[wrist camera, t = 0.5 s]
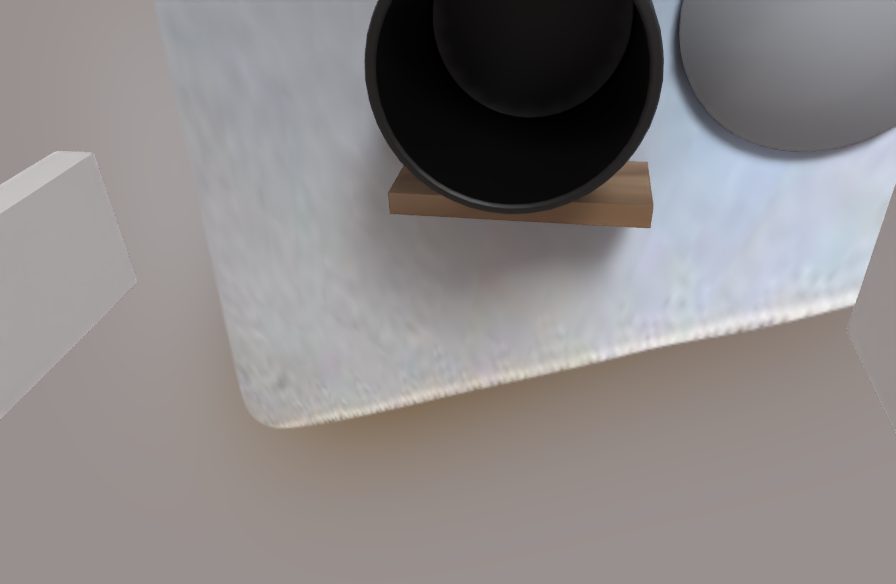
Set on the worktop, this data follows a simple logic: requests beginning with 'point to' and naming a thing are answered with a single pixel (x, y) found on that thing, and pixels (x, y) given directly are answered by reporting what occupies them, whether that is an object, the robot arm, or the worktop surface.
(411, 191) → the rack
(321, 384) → the worktop surface
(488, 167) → the mug
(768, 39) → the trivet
